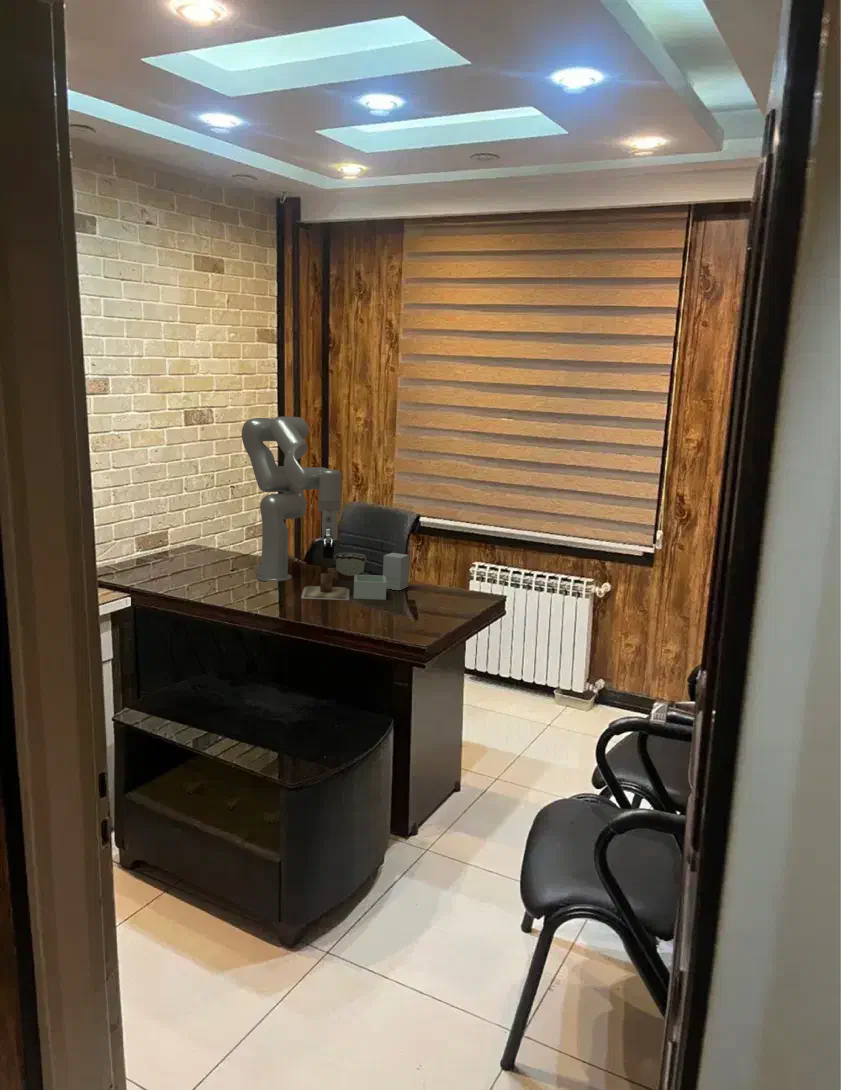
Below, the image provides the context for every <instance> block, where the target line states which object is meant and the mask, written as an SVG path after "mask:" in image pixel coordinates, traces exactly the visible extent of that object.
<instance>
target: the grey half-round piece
mask: <svg viewBox="0 0 841 1090" xmlns="http://www.w3.org/2000/svg"><path fill="white" fill-rule="evenodd" d="M333 560H334V561H335V570H336V581H348V580H354V575H364V570H365V564H366V563H367V557H366V555H365V554H363V553H360V552H359V553H358V552H357V553H356V552H338V553H336V554H335V555H334V556H333Z"/></svg>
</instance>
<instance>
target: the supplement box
mask: <svg viewBox="0 0 841 1090" xmlns="http://www.w3.org/2000/svg"><path fill="white" fill-rule="evenodd" d="M382 557H383V561H382V562H383V563H382V564H383V565H382V576H386V582H387V585H386V590H387V589H388V590H389V589H392V590H402V589H404V588H406V587H409V573H410V572H409V570H410V555H409V554H404V553H399V552H398V553H397V552H390V553H387V554H385V555H383V556H382ZM392 590H391V591H392Z"/></svg>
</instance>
